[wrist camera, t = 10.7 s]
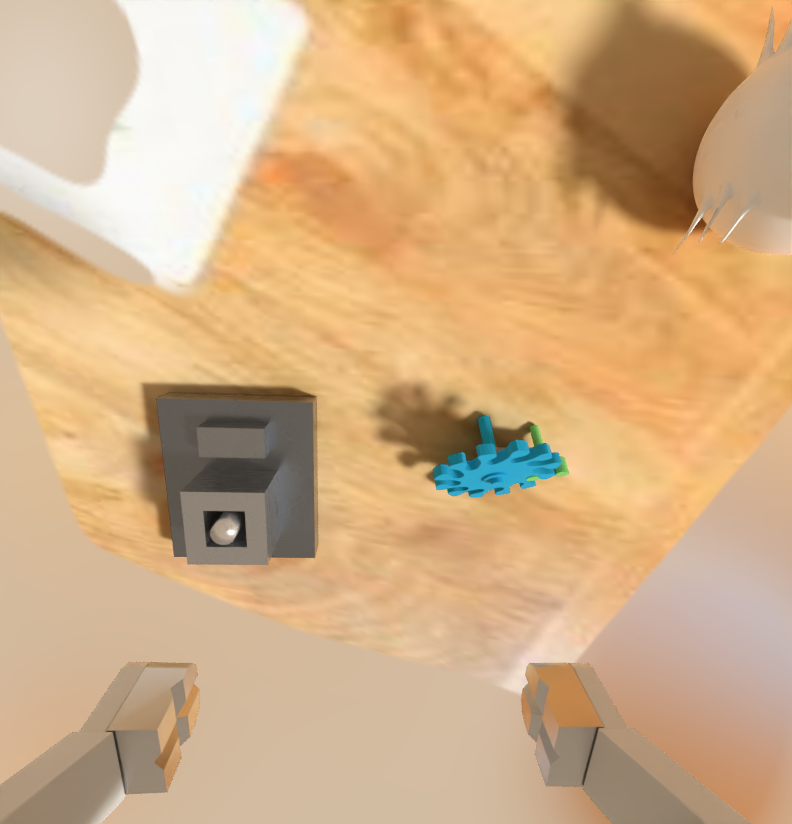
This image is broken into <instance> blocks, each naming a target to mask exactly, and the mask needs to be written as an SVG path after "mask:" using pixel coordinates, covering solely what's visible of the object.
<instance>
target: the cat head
mask: <svg viewBox="0 0 792 824" xmlns="http://www.w3.org/2000/svg"><path fill="white" fill-rule="evenodd" d="M773 35H774V16H773V8H772V9H771V14H770V19H769V24H768V29H767V35H766V40H765V44H764V47H763V50H762V53H761V56H760V59H759V62H758V64H757V66H756V67H755V69H754V70H753V72H752V73H751V74H750V75H749V76H748V77H747V78H746V79H745V80H744V81H743V82H742V83H741V84H740V85H739V86H738V87H737V88H736V89H735V90H734V91H733V92H732V93H731V94H730V95H729V97H728V98H727V99H726V100H725V102H724V103H723V105H722V106H721V107H720V109H719V110H718V112H717V113H716V115H715V116H714V118H713V119H712V121H711V123H710V124H709V126H708V128H707V130H706V132H705V134H704V136H703V138H702V141H701V143H700V146H699V149H698V152H697V155H696V159H695V164H694V170H693V192H694V198H695V202H696V205H697V208H698V212H697V214H696V216H695V218H694V220H693V222H692V224H691V226H690V228H689V230H688V232H687V233H686V235H685V236H684V238H683V239H682V241H681V242H680V244H679V245H678V247H679V246H680V245H681V244H682V243H683V241H684V240H685V239H686V238H687V236H688V235H689V234H690V232H691V231H692V230H693V228H694V227H695V226H696V224H697V223H698V222H699V220H700V219H701V218H703V220H704V221H705V223H706V224H707V225H706V227H705V229H704V231H703V234H702V236H701V238H700V240H699V242H700V241H701V240H702V238H703V237H704V235H705V234H706V232H707V230H708V229H709V228H710V229H711V230H712V231H713V232H714V233H715V234H716V235H718V236H719V237H720V238H722V239H721V241H720V243H719V244H721V243H722V242H723V241H724V240H725V241H726V242H728V243H730V244H732V245H734V246H736V247H739V248H741V249H744V250H748V251H752V252H756V253H762V254H771V255H792V19H791V21H790V24H789V26H788V29H787V31H786V34H785V36H784V38H783V40H782V42H781V43H780V45H779V47H778V49H777V50H776V52H774V49H773ZM678 247H677V248H676V250H677V249H678ZM676 250H675V251H676ZM673 254H674V253H673Z"/></svg>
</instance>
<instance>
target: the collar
mask: <svg viewBox="0 0 792 824" xmlns="http://www.w3.org/2000/svg"><path fill="white" fill-rule="evenodd" d="M180 496H181V505H182V515H183V525H184V534H185V544H186V553H187V563H188V564H224V565H268V564H269V561H270V559H271V556H272V554H273V551H274V549H275V547H276V544H277V542H278V539H279V537H280V528H279V501H278V475H277V471H240V470H202V471H201V472H200V473H199V474H198V475H197V476H196V477H195V478H194V479H193V480H192V481H191V482H190V483H189V484H188V485H186V486H185V487H184V488H183V489H182V490H181V491H180ZM224 511H245V522H244V524H243V525H242V527H241V529H240V530H239V532H238V534H237V535H236V537H235V539H234V540H233V542H232V543H230V544H228V545H219V544H217V543H215V542H214V541H213V540H212V538H211V536H210V531H211V528H212V527H213V526H214V524H215V523H216V521H217V520H218V519H219V517H220V516H221V515H222V513H223V512H224Z"/></svg>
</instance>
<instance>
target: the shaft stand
mask: <svg viewBox="0 0 792 824" xmlns="http://www.w3.org/2000/svg"><path fill="white" fill-rule="evenodd" d="M156 400H157V409H158V418H159V427H160V436H161V445H162V453H163V462H164V471H165V480H166V489H167V498H168V507H169V515H170V524H171V533H172V542H173V551H174V557H187V553H186V544H185V534H184V525H183V515H182V505H181V496H180V491H181V490H182V489H183V488H184V487H185V486H186V485H188V484H189V483H190V482H191V481H192V480H193V479H194V478H195V477H196V476H197V475H198V474H199V473H200V472H201V471H202V470H240V471H277V475H278V501H279V528H280V537H279V539H278V542H277V544H276V547H275V549H274V551H273V554H272V556H271V557H273V558H315V556H316V551H317V547H318V488H317V397H308V396H272V395H236V394H200V393H167V394H165V395H162V396H160V397H158V398H156ZM244 522H245V511H224V512H223V513H222V515H221V516H220V517H219V519H218V520H217V521H216V523H215V524H214V526H213V527H212V528H211V531H210V536H211V538H212V540H213V541H214V542H215V543H217V544H219V545H228V544H230V543H232V542H233V540H234V539H235V537H236V535H237V534H238V532H239V530H240V529H241V527H242V525H243V524H244Z"/></svg>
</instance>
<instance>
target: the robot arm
mask: <svg viewBox="0 0 792 824" xmlns="http://www.w3.org/2000/svg"><path fill="white" fill-rule="evenodd" d="M197 675H198V674H197V668H196V664H192V663H161V662H160V663H158V662H129V663H127V664H126V665H125V666H124V667H123V668H122V669H121V670H120V672H119V673H118V675H117V677H116V678H115V679H114V681H113V682H112V684H111V685H110V687H109V688H108V690H107V691H106V693H105V694H104V696H103V697H102V699H101V700H100V702H99V703H98V705H97V706H96V708H95V709H94V711H93V712H92V714H91V715H90V717H89V718H88V720H87V721H86V723H85V724H84V726H83V727H82V728H81V730H80V731H79V732H72V733H70V734H69V735H68V736H66V737H65V738H64V739H62V740H61V741H59V742H58V743H57V744H55V745H54V746H53V747H51V748H50V749H49V750H47V751H46V752H44V753H43V754H42V755H40V756H39V757H38V758H36V759H35V760H34V761H32V762H31V763H29V764H28V765H27V766H26V767H24V768H23V769H21V770H20V771H19V772H17V773H16V774H14V775H13V776H12V777H11V778H9V779H8V780H6V781H5V782H4V783H2V784H1V785H0V824H101V823H102V821H104V819H105V818H106V817H107V816H108V815H109V814H110V813H111V812H112V811H113V810H114V809H115V808H116V807H117V806H118V804H120V802H121V801H122V800H123V799H124V798H125V794H141V793H162V792H167V791H168V789H169V786H170V784H171V781H172V779H173V777H174V775H175V772H176V770H177V767H178V765H179V763H180V760H181V751H180V746H181V745H182V744H183V743H184V742H185V741H186V740H187V739H188V738H189V737H190V736H191V733H192V731H193V728H194V726H195V723H196V720H197V715H198V711H199V704H200V692H199V689H198V688H197V687H196V686H195V685H194V682H195V680H196V677H197ZM525 675H526V678H527V681H528V684H527V685H526V686H525V687H524V688H523V690H522V698H521V703H522V714H523V719H524V723H525V726H526V729H527V732H528V734H529V735H530V736H531V737H532V738H533V739H534V740H535V741H536V742H537V745H536V751H535V756H536V759H537V762H538V765H539V767H540V770H541V773H542V776H543V779H544V782H545V785H546V786H564V787H583V790H584V791H585V793H586V794H587V795H588V796H589V797H590V798H591V800H592V801H593V802H594V803H595V804H596V806H597V807H598V808H599V809H600V810H601V811H602V813H603V814H604V815H605V816H606V817H607V818H608V820H609V821H610V822H611V823H612V824H751V823H750V822H749V821H747V820H746V819H745V818H744V817H743V816H741V815H740V814H739V813H738V812H737V811H735V810H734V809H733V808H732V807H730V806H729V805H728V804H727V803H725V802H724V801H723V800H722V799H720V798H719V797H718V796H717V795H716V794H714V793H713V792H712V791H711V790H709V789H708V788H707V787H706V786H705V785H703V784H702V783H701V782H700V781H698V780H697V779H696V778H695V777H694V776H692V775H691V774H690V773H688V772H687V771H686V770H685V769H684V768H682V767H681V766H680V765H679V764H677V763H676V762H675V761H674V760H673V759H671V758H670V757H669V756H668V755H666V754H665V753H664V752H663V751H662V750H660V749H659V748H658V747H657V746H655V745H654V744H653V743H652V742H651V741H649V740H648V739H647V738H646V737H644V736H643V735H642V734H641V733H639V732H638V731H637V730H636V729H635V728H628V727H627V726H626V724H625V722H624V721H623V719H622V717H621V715H620V714H619V712H618V710H617V708H616V707H615V705H614V703H613V701H612V700H611V698H610V696H609V695H608V693H607V691H606V689H605V688H604V686H603V684H602V682H601V681H600V679H599V677H598V676H597V674H596V672H595V670H594V669H593V667H592V666H591V665H590V664H589V663H529V665H528V666H527V669H526V674H525Z"/></svg>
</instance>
